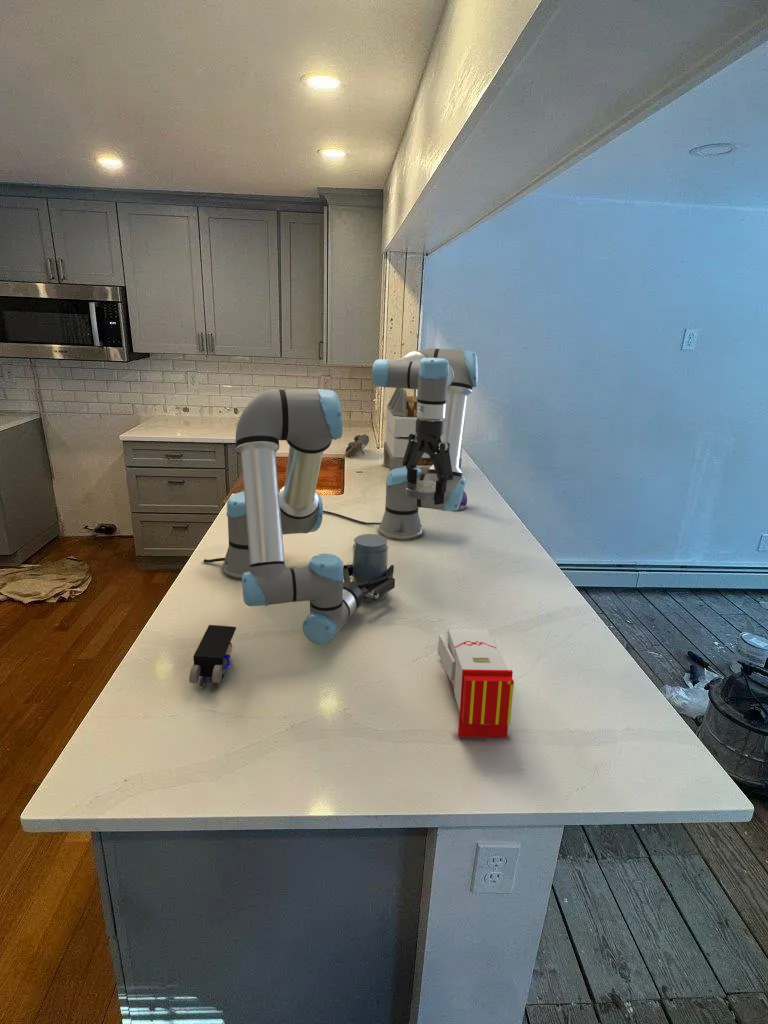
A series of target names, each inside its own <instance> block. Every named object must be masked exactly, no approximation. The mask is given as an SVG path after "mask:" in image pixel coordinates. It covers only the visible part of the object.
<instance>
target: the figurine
mask: <svg viewBox="0 0 768 1024" xmlns="http://www.w3.org/2000/svg"><path fill="white" fill-rule="evenodd" d="M467 495H468V494H467V493H466V491H465V490H464V492H463V496H462V500H461V503H460V505H459V508H458V509H457V510H456V511H460V510H461V511H462V510H464V509H466V508H467V503H468V496H467Z"/></svg>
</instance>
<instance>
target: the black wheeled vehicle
mask: <svg viewBox="0 0 768 1024" xmlns="http://www.w3.org/2000/svg"><path fill="white" fill-rule="evenodd" d="M236 630H237V627H236V626H231V625H217V624H208V626H207V628H206V629H205V632H204V634H203V636H202V638H201V640H200V642H199V644H198V646H197V648H196V650H195V652H194V654H193V656H192V658H193V664H192V666H191V668H190V670H189V676H188V677H189V679H188V680H189V683H190V684H191V683H193V684H197V683H198V682H199V681H200V682H199V688H203V687H204V684H205V683H206V679H210V680H211V682H212V683H213V688H215V689H216V688H217V687H218V684H220V682H221V681H222V679H224V677H225V676H224V675H225V671H226V670H227V669H228V668H229V667H230V666H231V659H230V658H231V654H232V652H233V643H232V639H233V638H234V635H235V632H236ZM224 661H226V664H225V665H224ZM200 677H201V680H200Z"/></svg>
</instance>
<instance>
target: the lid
mask: <svg viewBox="0 0 768 1024" xmlns="http://www.w3.org/2000/svg"><path fill="white" fill-rule="evenodd" d="M435 488H436V482H433V481H424V480H420V481H412V482H409V483H407V484H406V489H405V493H406V495H408V496H409V497H412V498H415V499H420V500H435ZM444 495H445V493H444Z"/></svg>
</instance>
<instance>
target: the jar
mask: <svg viewBox="0 0 768 1024" xmlns="http://www.w3.org/2000/svg"><path fill="white" fill-rule="evenodd" d="M387 539H388V538H387V537H384V536H383V535H381V534H375V533H374V534H373V533H364V534H360V535H357V536H356V537H354V539H353V541H354V543H353V545H352V563H353V564H352V563H351V564H352V576H351V582H352V581H354V582H357V583H362V582H365V581H368V582H370V581H373V580H376V579H378V578H381V577H383V574H384V573H385V572H386V571H387V569H388V558H389V557H388V556H389V546H388V540H387ZM386 595H387V593H385V594H384V595H382V596H381V597H379V599H378V601H381V600H383V599H384V598H385V597H386ZM362 602H366V603H367V602H368V603H370V602H374V601H373V598H370V597H367V598H366V599H364V600H363V601H362Z"/></svg>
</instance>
